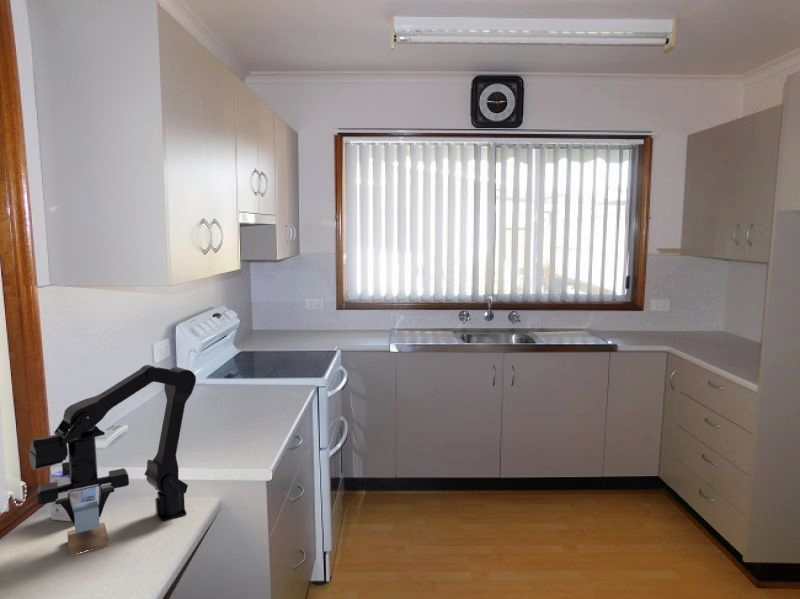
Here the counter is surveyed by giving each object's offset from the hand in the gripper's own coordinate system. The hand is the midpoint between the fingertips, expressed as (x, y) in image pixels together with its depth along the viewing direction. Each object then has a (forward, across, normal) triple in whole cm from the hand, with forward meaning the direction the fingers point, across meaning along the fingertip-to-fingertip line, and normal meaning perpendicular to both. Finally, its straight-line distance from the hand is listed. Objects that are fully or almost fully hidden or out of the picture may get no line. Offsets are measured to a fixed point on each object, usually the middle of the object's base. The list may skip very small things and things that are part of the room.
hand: (86, 519), depth 132 cm
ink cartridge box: (+6, +2, -18) cm, 19 cm away
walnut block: (+6, 0, 0) cm, 6 cm away
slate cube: (+2, 0, 0) cm, 2 cm away
